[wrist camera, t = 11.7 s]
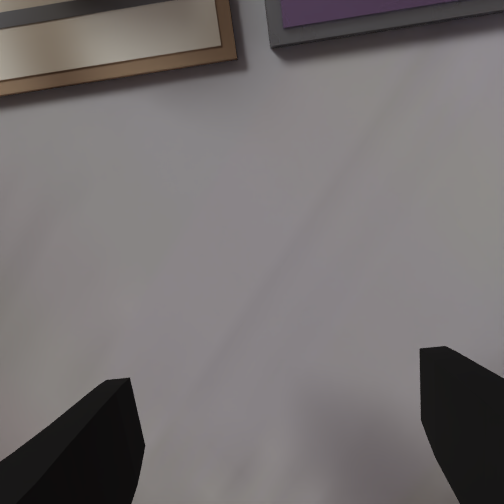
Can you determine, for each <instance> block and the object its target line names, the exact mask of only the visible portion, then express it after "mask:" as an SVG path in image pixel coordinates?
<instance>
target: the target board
mask: <svg viewBox="0 0 504 504" xmlns="http://www.w3.org/2000/svg"><path fill="white" fill-rule="evenodd" d="M232 60H237V53H236V46H235V39H234V32H233V25H232V18H231V11H230V4H229V0H0V97H1V96H8V95H14V94H20V93H27V92H33V91H40V90H46V89H52V88H59V87H65V86H72V85H78V84H84V83H91V82H97V81H104V80H110V79H116V78H123V77H129V76H136V75H142V74H148V73H155V72H161V71H168V70H174V69H180V68H187V67H193V66H200V65H206V64H212V63H219V62H225V61H232Z"/></svg>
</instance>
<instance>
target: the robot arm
mask: <svg viewBox="0 0 504 504" xmlns="http://www.w3.org/2000/svg"><path fill="white" fill-rule="evenodd" d="M420 394H421V421H422V424H423V427H424V429H425V432H426V435H427V437H428V440H429V443H430V445H431V448H432V450H433V453H434V455H435V458H436V460H437V462H438V463H439V465H440V467H441V469H442V471H443V473H444V475H445V477H446V478H447V480H448V482H449V484H450V486H451V488H452V490H453V492H454V493H455V495H456V497H457V499H458V501H459V503H460V504H504V378H502V377H500V376H498V375H497V374H495V373H493V372H491V371H490V370H488V369H486V368H484V367H482V366H481V365H479V364H477V363H476V362H474V361H472V360H470V359H469V358H467V357H465V356H463V355H461V354H460V353H458V352H456V351H454V350H452V349H450V348H448V347H446V346H441V347H431V348H421V349H420ZM144 449H145V443H144V438H143V434H142V429H141V425H140V420H139V416H138V412H137V407H136V403H135V398H134V394H133V389H132V385H131V381H130V378H122V379H112V380H106V381H104V382H103V383H101V384H100V385H98V386H97V387H96V388H94V389H93V390H92V391H91V392H89V393H88V394H87V395H86V396H84V397H83V398H82V399H81V400H80V401H78V402H77V403H76V404H75V405H74V406H72V407H71V408H70V409H69V410H67V411H66V412H65V413H64V414H62V415H61V416H60V417H59V418H58V419H56V420H55V421H54V422H53V423H51V424H50V425H49V426H48V427H46V428H45V429H44V430H42V431H41V432H40V433H38V434H37V435H36V436H34V437H33V438H32V439H30V440H29V441H28V442H26V443H25V444H24V445H22V446H21V447H20V448H18V449H17V450H16V451H15V452H13V453H12V454H10V455H9V456H8V457H6V458H5V459H3V460H2V461H0V504H131V503H132V500H133V497H134V494H135V491H136V488H137V485H138V480H139V475H140V471H141V466H142V460H143V455H144Z"/></svg>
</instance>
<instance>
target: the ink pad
mask: <svg viewBox="0 0 504 504" xmlns="http://www.w3.org/2000/svg"><path fill="white" fill-rule="evenodd" d="M265 7H266V15H267V23H268V32H269V40H270V48H271V49H272V48H278V47H284V46H291V45H297V44H303V43H310V42H316V41H323V40H329V39H335V38H342V37H348V36H354V35H361V34H367V33H374V32H380V31H386V30H393V29H399V28H405V27H412V26H418V25H425V24H431V23H437V22H444V21H450V20H456V19H463V18H469V17H476V16H482V15H488V14H495V13H501V12H504V0H265Z"/></svg>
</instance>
